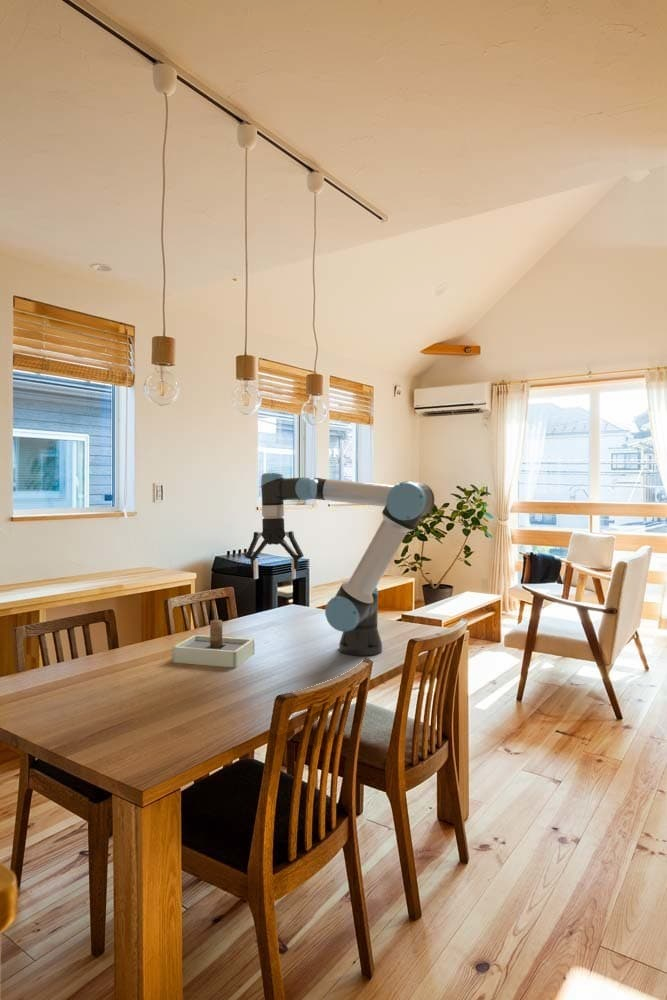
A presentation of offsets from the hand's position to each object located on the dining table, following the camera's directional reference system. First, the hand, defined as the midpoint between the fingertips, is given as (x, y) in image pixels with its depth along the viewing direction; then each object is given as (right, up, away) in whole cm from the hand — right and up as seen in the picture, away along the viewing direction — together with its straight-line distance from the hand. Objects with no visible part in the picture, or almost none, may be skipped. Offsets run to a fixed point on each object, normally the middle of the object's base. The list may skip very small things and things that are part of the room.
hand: (275, 578), depth 211 cm
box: (-19, -25, -9) cm, 33 cm away
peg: (-19, -25, -7) cm, 32 cm away
